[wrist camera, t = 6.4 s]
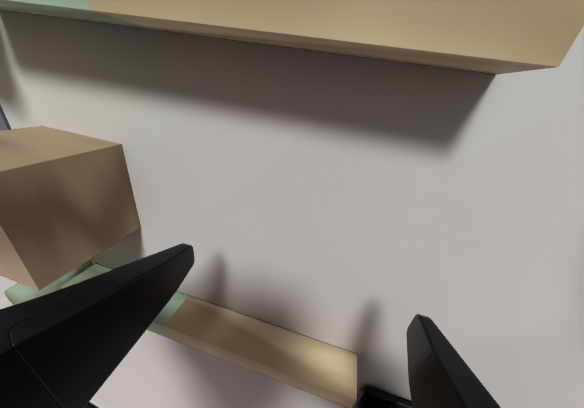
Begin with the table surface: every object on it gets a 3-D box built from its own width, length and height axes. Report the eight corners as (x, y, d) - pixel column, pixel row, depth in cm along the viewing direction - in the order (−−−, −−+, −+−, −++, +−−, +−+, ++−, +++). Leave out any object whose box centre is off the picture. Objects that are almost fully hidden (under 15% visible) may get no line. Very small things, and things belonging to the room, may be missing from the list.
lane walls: (349, 368, 16) (347, 447, 12) (76, 270, 19) (14, 308, 16) (534, -1, 6) (758, -118, 3) (-66, -49, 10) (-289, -122, 7)
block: (141, 226, 15) (39, 290, 10) (75, 206, 16) (-47, 256, 11) (122, 143, 12) (-28, 177, 7) (44, 125, 13) (-134, 145, 8)
